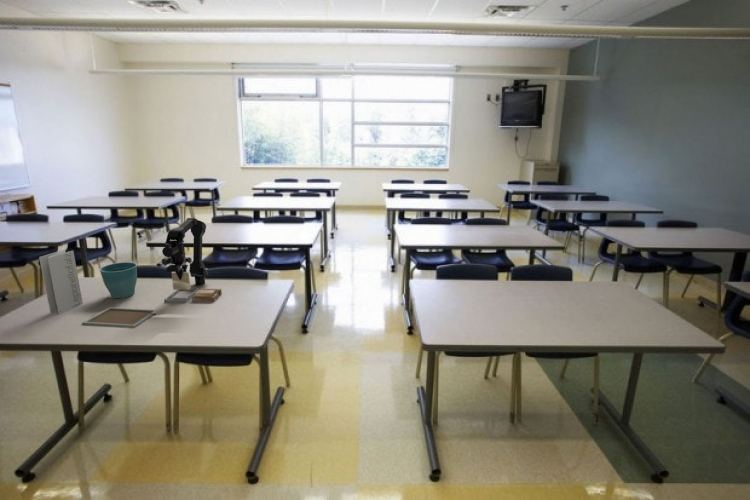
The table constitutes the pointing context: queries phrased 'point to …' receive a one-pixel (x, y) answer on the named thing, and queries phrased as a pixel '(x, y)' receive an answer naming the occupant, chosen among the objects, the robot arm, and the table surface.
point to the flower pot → (120, 279)
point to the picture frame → (120, 317)
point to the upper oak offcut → (204, 293)
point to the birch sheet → (181, 281)
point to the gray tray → (181, 299)
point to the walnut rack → (207, 299)
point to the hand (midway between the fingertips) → (181, 279)
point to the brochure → (61, 281)
